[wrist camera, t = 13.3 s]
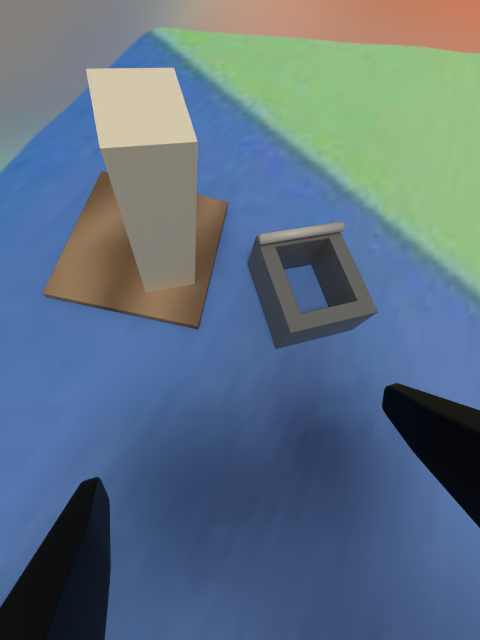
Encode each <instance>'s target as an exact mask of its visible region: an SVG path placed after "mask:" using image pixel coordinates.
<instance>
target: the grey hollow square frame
mask: <svg viewBox="0 0 480 640" xmlns="http://www.w3.org/2000/svg"><path fill="white" fill-rule="evenodd" d="M343 231H344V223H343V222H337V223H330V224H323V225H317V226H310V227H304V228H297V229H290V230H284V231H277V232H270V233H264V234H258V236H256V239H255V242H254V245H253V248H252V251H251V255H250V258H249V261H248V267H249V270H250V273H251V276H252V279H253V282H254V284H255V287H256V290H257V293H258V296H259V299H260V302H261V305H262V308H263V311H264V314H265V317H266V320H267V323H268V326H269V329H270V332H271V335H272V338H273V341H274V344H275V347H276V349H277V348H281V347H285V346H289V345H293V344H297V343H301V342H305V341H309V340H313V339H317V338H321V337H325V336H329V335H333V334H337V333H341V332H345V331H349V330H352V329H354V328H355V327H357V326H358V325H359V324H361V323H362V322H364V321H365V320H367V319H368V318H370V317H371V316H373V315H374V314H376V313H377V312H378V311H377V309H376V307H375V305H374V303H373V301H372V299H371V296H370V294H369V292H368V290H367V288H366V286H365V284H364V282H363V279H362V277H361V275H360V273H359V271H358V269H357V267H356V265H355V262H354V260H353V258H352V256H351V254H350V252H349V250H348V247H347V245H346V243H345V241H344V239H343V237H342V235H341V233H340V232H343ZM310 264H312V267H313V269H314V272H315V274H316V276H317V279H318V281H319V284H320V286H321V288H322V291H323V293H324V296H325V298H326V301H327V303H328V305H329V307H328V308H324V309H320V310H315V311H311V312H306V313H302V314H300V311H299V309H298V306H297V303H296V301H295V298H294V295H293V293H292V290H291V287H290V285H289V282H288V279H287V277H286V274H285V271H284V269H288V268H293V267H299V266H304V265H310Z"/></svg>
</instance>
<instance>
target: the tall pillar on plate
mask: <svg viewBox="0 0 480 640" xmlns="http://www.w3.org/2000/svg"><path fill="white" fill-rule="evenodd" d="M86 71H87V77H88V82H89V88H90V94H91V100H92V105H93V111H94V117H95V122H96V128H97V134H98V139H99V145H100V150H101V153H102V156H103V159H104V162H105V165H106V169H107V172H108V175H109V178H110V181H111V184H112V188H113V191H114V194H115V197H116V200H117V203H118V207H119V210H120V213H121V216H122V219H123V222H124V226H125V229H126V232H127V235H128V238H129V241H130V245H131V248H132V251H133V254H134V257H135V260H136V263H137V267H138V270H139V273H140V276H141V279H142V282H143V286H144V289H145V292H146V293H147V292H153V291H158V290H164V289H169V288H175V287H180V286H186V285H191V284H195V250H196V196H197V139H196V136H195V132H194V129H193V126H192V123H191V120H190V117H189V114H188V111H187V107H186V104H185V101H184V98H183V95H182V92H181V89H180V86H179V83H178V79H177V76H176V73H175V70H174V68H116V69H86Z"/></svg>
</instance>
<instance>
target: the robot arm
mask: <svg viewBox="0 0 480 640" xmlns="http://www.w3.org/2000/svg"><path fill="white" fill-rule="evenodd" d="M382 408H383V410H384V412H385V414H386V415H387V417H388V418H389V419H390V421H391V422H392V424H393V425H394V426H395V428H396V429H397V430H398V432H399V433H400V434H401V436H402V437H403V439H404V440H405V441H406V443H407V444H408V445H409V447H410V448H411V449H412V451H413V452H414V453H415V454H416V456H417V457H418V458H419V459H420V460H421V461H422V463H423V464H424V465H425V466H426V467H427V468H428V469H429V471H430V472H431V473H432V474H433V475H434V476H435V477H436V479H437V480H438V481H439V482H440V483H441V484H442V485H443V487H444V488H445V489H446V490H447V491H448V492H449V493H450V495H451V496H452V497H453V498H454V499H455V500H456V501H457V503H458V504H459V505H460V506H461V507H462V508H463V509H464V511H465V512H466V513H467V514H468V515H469V516H470V517H471V519H472V520H473V521H474V522H475V523H476V524H477V525H478V527H479V528H480V410H477V409H474V408H471V407H468V406H465V405H462V404H459V403H456V402H453V401H450V400H447V399H444V398H441V397H438V396H435V395H432V394H429V393H426V392H423V391H420V390H417V389H414V388H411V387H408V386H405V385H402V384H398V383H395V384H392V385H389V386H386V387H385V389H384V395H383V402H382ZM110 569H111V556H110V504H109V498H108V495H107V492H106V490H105V488H104V485H103V483H102V481H101V479H100V478H99V477H94V478H91V479H88V480H85V481H83V482H82V483H81V484H80V485H79V487H78V488H77V490H76V491H75V493H74V494H73V496H72V497H71V499H70V501H69V502H68V504H67V505H66V507H65V508H64V510H63V511H62V513H61V514H60V516H59V518H58V519H57V521H56V522H55V524H54V525H53V527H52V528H51V530H50V531H49V533H48V535H47V536H46V538H45V539H44V541H43V542H42V544H41V545H40V547H39V548H38V550H37V552H36V553H35V555H34V556H33V558H32V559H31V561H30V562H29V564H28V565H27V567H26V569H25V570H24V572H23V573H22V575H21V576H20V578H19V579H18V581H17V582H16V584H15V586H14V587H13V589H12V590H11V592H10V593H9V595H8V596H7V598H6V599H5V601H4V603H3V604H2V606H1V607H0V640H105V630H106V618H107V607H108V596H109V584H110Z"/></svg>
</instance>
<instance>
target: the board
mask: <svg viewBox="0 0 480 640" xmlns="http://www.w3.org/2000/svg"><path fill="white" fill-rule="evenodd" d="M227 206H228V202H226V201H222V200H218V199H213V198H209V197H205V196H201V195H197V196H196V250H195V284H191V285H186V286H180V287H175V288H169V289H164V290H158V291H153V292H147V293H146V292H145V289H144V286H143V282H142V279H141V276H140V273H139V270H138V267H137V263H136V260H135V257H134V254H133V251H132V248H131V245H130V241H129V238H128V235H127V232H126V229H125V226H124V222H123V219H122V216H121V213H120V210H119V207H118V203H117V200H116V197H115V194H114V191H113V188H112V184H111V181H110V178H109V175H108V173H107V172H103V171H101V174H100V176H99V178H98V180H97V182H96V184H95V186H94V188H93V190H92V192H91V194H90V196H89V198H88V200H87V203H86V205H85V207H84V209H83V211H82V213H81V215H80V217H79V219H78V221H77V223H76V225H75V227H74V229H73V232H72V234H71V236H70V238H69V240H68V242H67V244H66V246H65V248H64V250H63V252H62V254H61V256H60V258H59V261H58V263H57V265H56V267H55V269H54V271H53V273H52V275H51V277H50V279H49V281H48V283H47V285H46V287H45V290H44V292H43V294H44V295H45V296H46V297H49V298H53V299H58V300H63V301H68V302H72V303H77V304H82V305H87V306H91V307H96V308H101V309H105V310H110V311H115V312H120V313H124V314H129V315H134V316H139V317H143V318H148V319H153V320H157V321H162V322H167V323H172V324H176V325H181V326H186V327H191V328H195V329H198V327H199V323H200V318H201V314H202V310H203V306H204V302H205V298H206V294H207V289H208V285H209V281H210V277H211V273H212V269H213V265H214V260H215V256H216V252H217V248H218V244H219V240H220V235H221V231H222V227H223V223H224V219H225V215H226V211H227Z"/></svg>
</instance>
